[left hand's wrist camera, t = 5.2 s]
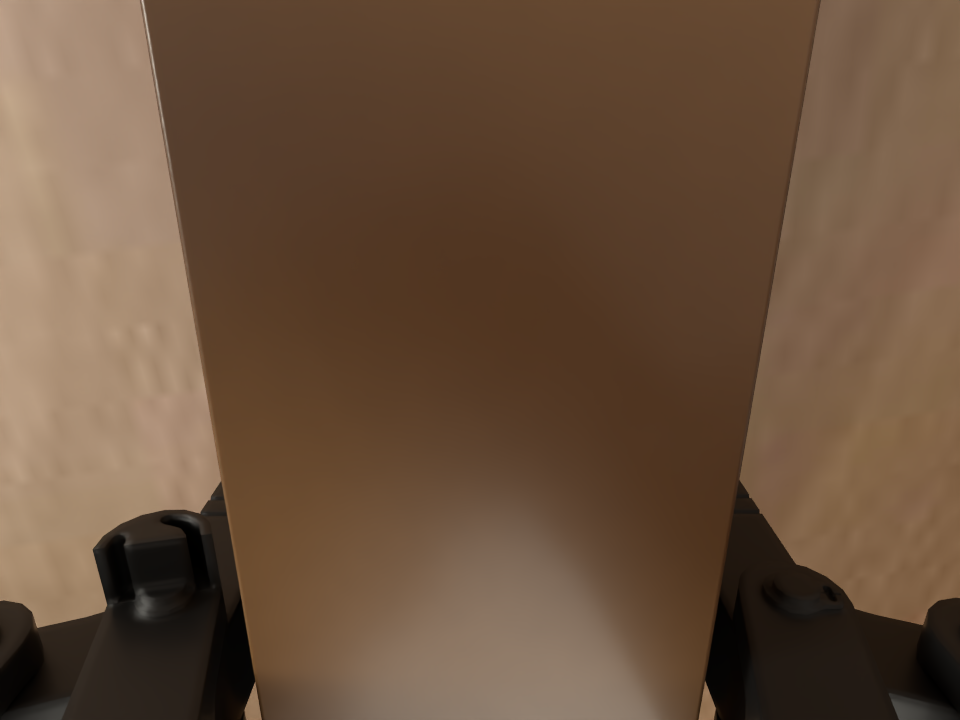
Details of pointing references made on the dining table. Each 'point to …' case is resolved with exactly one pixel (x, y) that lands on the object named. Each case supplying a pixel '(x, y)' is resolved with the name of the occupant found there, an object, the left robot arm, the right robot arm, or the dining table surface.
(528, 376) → the post
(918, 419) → the dining table surface
